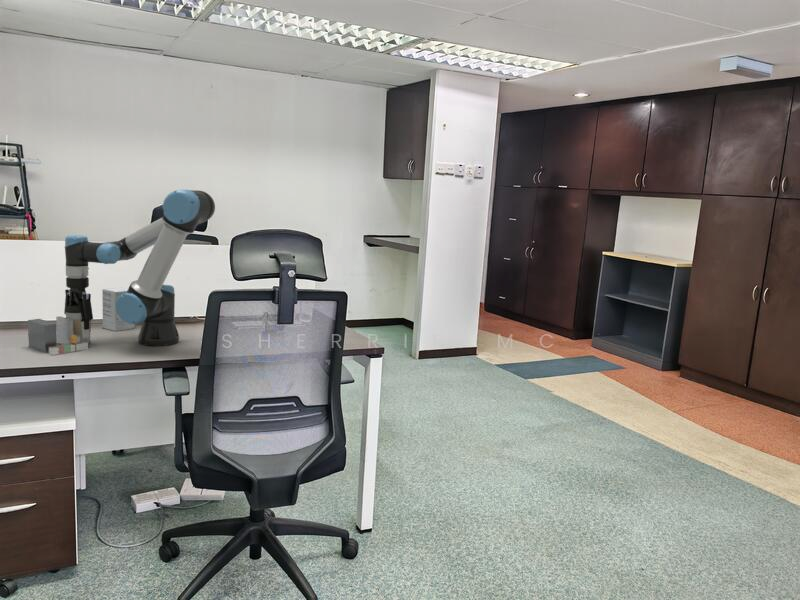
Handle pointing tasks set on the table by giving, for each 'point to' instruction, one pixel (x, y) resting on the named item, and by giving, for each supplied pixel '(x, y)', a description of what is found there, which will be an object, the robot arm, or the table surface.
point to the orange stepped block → (73, 339)
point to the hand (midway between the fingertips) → (79, 335)
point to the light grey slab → (65, 330)
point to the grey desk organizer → (49, 338)
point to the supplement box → (113, 310)
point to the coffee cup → (76, 321)
